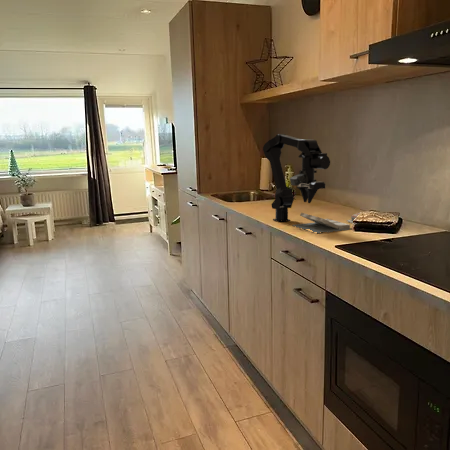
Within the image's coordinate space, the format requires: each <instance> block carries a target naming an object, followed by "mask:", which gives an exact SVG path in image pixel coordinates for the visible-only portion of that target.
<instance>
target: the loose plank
mask: <svg viewBox="0 0 450 450" xmlns="http://www.w3.org/2000/svg"><path fill="white" fill-rule="evenodd" d="M299 216H300V217H301V218H305V219H307V220H308V221H311V222H312V223H318V224H322V225H325V226H329V227H332V228H336V229H338V227H339V226H338V225H336V224H334V223H332V222H329V221H327V220H325V219H326V218H324V217H319V216H315V215H312V214H309V213H308V214H307V213H305V212H300V215H299Z"/></svg>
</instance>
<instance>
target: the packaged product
mask: <svg viewBox="0 0 450 450" xmlns="http://www.w3.org/2000/svg"><path fill="white" fill-rule="evenodd" d="M360 213H361V212H357V213H353V214H352V215H351V216H350V219H346V222H347V221H348V222H347V223H349V222H350V224H352V223H353V220H354V219H355V218H356V217H357V216H358V215H359V214H360Z"/></svg>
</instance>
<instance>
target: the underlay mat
mask: <svg viewBox="0 0 450 450" xmlns="http://www.w3.org/2000/svg"><path fill="white" fill-rule="evenodd" d="M291 226H292V227H295V226H296V227H295V228H298V227H299V228H298V229H301V228H302V229H301V230H304V229H310V230H312V231H313V232H317V233H319V234H321V233H320V232H327V233H333V231H335V232H342V230H343V231H348V230H349V229H351V230H353V228H351V227H350V228H346V229H336V228H332V227H329V226H325V225H322V224H318V223H315V222H306V223H298V224H297V223H296V224H292V225H291ZM349 231H350V230H349ZM313 232H312V233H313Z"/></svg>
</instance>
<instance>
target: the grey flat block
mask: <svg viewBox="0 0 450 450" xmlns="http://www.w3.org/2000/svg"><path fill="white" fill-rule="evenodd" d="M324 219H325V220H327V221H329V222H332V223H334V224H336V225H338V226H339V227H338V229H346V228H351V224H349V223H345V222H341V221H338V220H333V219H331V218H324Z"/></svg>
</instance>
